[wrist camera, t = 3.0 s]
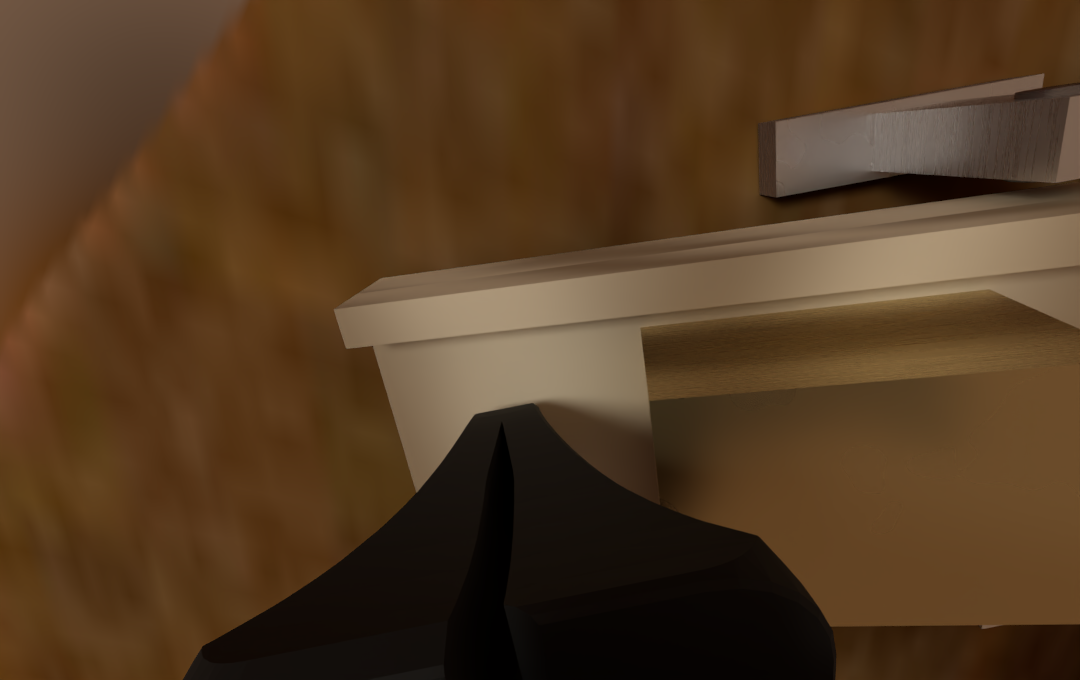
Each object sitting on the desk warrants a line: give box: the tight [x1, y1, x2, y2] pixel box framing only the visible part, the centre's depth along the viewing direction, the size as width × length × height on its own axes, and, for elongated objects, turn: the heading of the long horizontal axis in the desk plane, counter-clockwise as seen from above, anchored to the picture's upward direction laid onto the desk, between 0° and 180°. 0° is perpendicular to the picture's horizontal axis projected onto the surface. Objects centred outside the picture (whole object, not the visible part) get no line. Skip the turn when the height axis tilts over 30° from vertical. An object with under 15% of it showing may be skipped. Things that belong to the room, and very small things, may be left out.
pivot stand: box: [758, 74, 1080, 629], centre depth 12 cm, size 6×11×5 cm, turn 9°
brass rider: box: [640, 289, 1080, 627], centre depth 9 cm, size 6×4×3 cm
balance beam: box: [334, 182, 1080, 504], centre depth 10 cm, size 25×7×3 cm, turn 100°
